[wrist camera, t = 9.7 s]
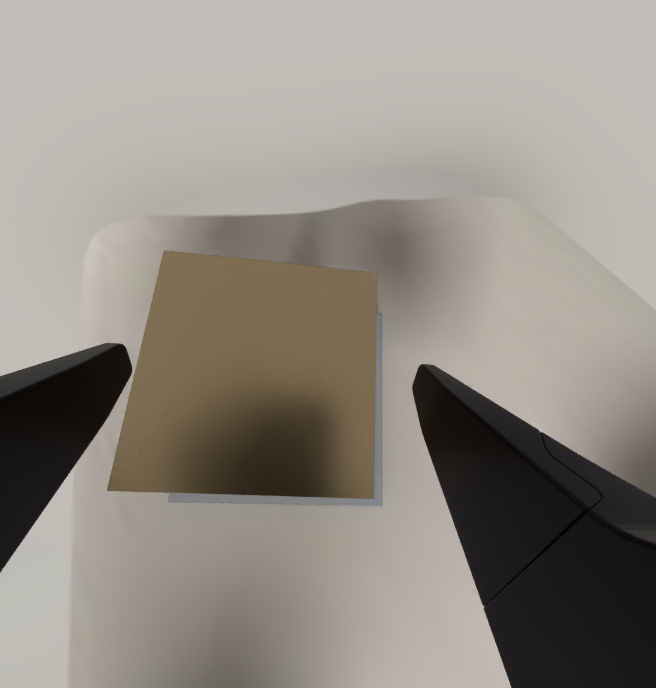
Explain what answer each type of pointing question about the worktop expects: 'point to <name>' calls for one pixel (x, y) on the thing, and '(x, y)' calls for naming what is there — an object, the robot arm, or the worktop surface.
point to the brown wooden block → (253, 382)
